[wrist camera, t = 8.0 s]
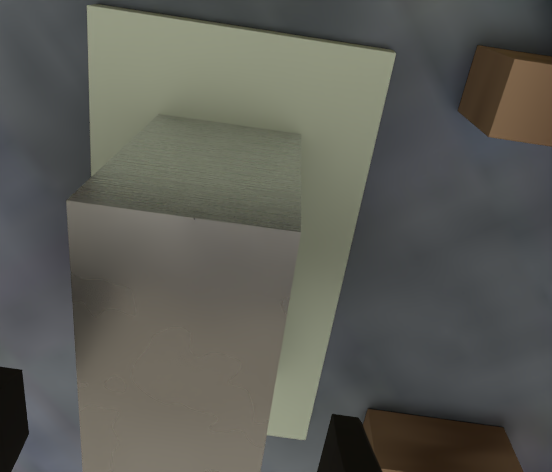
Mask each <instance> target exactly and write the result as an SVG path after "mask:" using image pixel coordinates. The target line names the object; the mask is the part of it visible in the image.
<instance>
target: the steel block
mask: <svg viewBox="0 0 552 472" xmlns="http://www.w3.org/2000/svg"><path fill="white" fill-rule="evenodd" d="M66 204H67V220H68V237H69V253H70V270H71V286H72V302H73V319H74V335H75V352H76V368H77V385H78V401H79V418H80V434H81V450H82V467H83V472H260V470H261V465H262V459H263V453H264V447H265V441H266V435H267V429H268V424H269V418H270V412H271V406H272V400H273V394H274V388H275V383H276V377H277V371H278V365H279V359H280V353H281V347H282V342H283V336H284V330H285V324H286V318H287V312H288V306H289V300H290V295H291V289H292V283H293V277H294V271H295V265H296V259H297V254H298V248H299V242H300V236H301V134H298V133H291V132H283V131H276V130H269V129H262V128H255V127H248V126H241V125H234V124H227V123H219V122H212V121H205V120H198V119H191V118H184V117H177V116H170V115H163V114H158V115H157V116H156V117H155V118H154V119H153V120H152V121H151V122H149V123H148V124H147V125H146V126H145V127H144V128H143V129H142V130H141V131H140V132H139V133H138V134H137V135H136V136H135V137H133V138H132V139H131V140H130V141H129V142H128V143H127V144H126V145H125V146H124V147H123V148H122V149H121V150H120V151H119V152H117V153H116V154H115V155H114V156H113V157H112V158H111V159H110V160H109V161H108V162H107V163H106V164H105V165H104V166H103V167H101V168H100V169H99V170H98V171H97V172H96V173H95V174H94V175H93V176H92V177H91V178H90V179H89V180H88V181H87V182H85V183H84V184H83V185H82V186H81V187H80V188H79V189H78V190H77V191H76V192H75V193H74V194H73V195H72V196H71V197H70V198H68V199H67V200H66Z"/></svg>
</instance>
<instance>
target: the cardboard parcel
mask: <svg viewBox="0 0 552 472" xmlns="http://www.w3.org/2000/svg"><path fill="white" fill-rule="evenodd" d="M458 112H459V113H461V114H462V115H463V116H464V117H465V118H467V119H468V120H469V121H470V122H471V123H472V124H474V125H475V126H476V127H477V128H478V129H480V130H481V131H482V132H483V133H484V134H486V135H487V136H488V137H492V138H499V139H505V140H512V141H518V142H525V143H532V144H538V145H545V146H551V147H552V57H550V56H544V55H537V54H531V53H525V52H518V51H512V50H505V49H499V48H493V47H486V46H480V45H477V49H476V52H475V55H474V59H473V62H472V65H471V69H470V72H469V75H468V78H467V82H466V85H465V88H464V92H463V95H462V98H461V102H460V105H459V108H458ZM363 427H364V430H365V432H366V435H367V437H368V440H369V442H370V444H371V447H372V449H373V451H374V454H375V456H376V458H377V460H378V463H379V465H380V467H381V469H382V471H383V472H523V470H522V468H521V465H520V463H519V461H518V459H517V456H516V454H515V452H514V450H513V448H512V445H511V443H510V441H509V439H508V437H507V434H506V432H505V430H504V428H502V427H495V426H488V425H481V424H474V423H466V422H459V421H452V420H445V419H438V418H430V417H423V416H416V415H409V414H401V413H394V412H387V411H380V410H373V409H368V410H367V413H366V417H365V420H364V423H363Z"/></svg>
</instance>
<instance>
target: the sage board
mask: <svg viewBox="0 0 552 472" xmlns="http://www.w3.org/2000/svg"><path fill="white" fill-rule="evenodd" d="M87 27H88V67H89V107H90V146H91V177H92V176H93V175H94V174H95V173H96V172H97V171H98V170H99V169H100V168H101V167H103V166H104V165H105V164H106V163H107V162H108V161H109V160H110V159H111V158H112V157H113V156H114V155H115V154H116V153H117V152H119V151H120V150H121V149H122V148H123V147H124V146H125V145H126V144H127V143H128V142H129V141H130V140H131V139H132V138H133V137H135V136H136V135H137V134H138V133H139V132H140V131H141V130H142V129H143V128H144V127H145V126H146V125H147V124H148V123H149V122H151V121H152V120H153V119H154V118H155V117H156V116H157V115H158V114H163V115H170V116H177V117H184V118H191V119H198V120H205V121H212V122H219V123H227V124H234V125H241V126H248V127H255V128H262V129H269V130H276V131H283V132H291V133H298V134H301V236H300V242H299V248H298V254H297V259H296V265H295V271H294V277H293V283H292V289H291V295H290V300H289V306H288V312H287V318H286V324H285V330H284V336H283V342H282V347H281V353H280V359H279V365H278V371H277V377H276V383H275V388H274V394H273V400H272V406H271V412H270V418H269V424H268V429H267V435H271V436H278V437H285V438H293V439H300V440H305V439H306V435H307V431H308V427H309V422H310V418H311V414H312V410H313V405H314V401H315V397H316V392H317V388H318V384H319V380H320V375H321V371H322V367H323V363H324V358H325V354H326V350H327V346H328V341H329V337H330V333H331V329H332V324H333V320H334V316H335V312H336V307H337V303H338V299H339V295H340V290H341V286H342V282H343V278H344V273H345V269H346V265H347V261H348V256H349V252H350V248H351V243H352V239H353V235H354V231H355V226H356V222H357V218H358V214H359V209H360V205H361V201H362V197H363V192H364V188H365V184H366V180H367V175H368V171H369V167H370V163H371V158H372V154H373V150H374V146H375V141H376V137H377V133H378V129H379V124H380V120H381V116H382V111H383V107H384V103H385V99H386V94H387V90H388V86H389V82H390V77H391V73H392V69H393V65H394V60H395V56H396V53H395V52H394V51H393V50H390V49H383V48H377V47H370V46H364V45H357V44H351V43H344V42H338V41H332V40H325V39H319V38H312V37H306V36H299V35H293V34H286V33H280V32H274V31H267V30H261V29H254V28H248V27H241V26H235V25H228V24H222V23H216V22H209V21H203V20H196V19H190V18H183V17H177V16H170V15H164V14H158V13H151V12H145V11H138V10H132V9H125V8H119V7H112V6H106V5H100V4H93V5H87Z"/></svg>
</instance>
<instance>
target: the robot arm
mask: <svg viewBox="0 0 552 472" xmlns="http://www.w3.org/2000/svg"><path fill="white" fill-rule="evenodd" d="M28 435H29V430H28V421H27V411H26V402H25V393H24V384H23V375H22V370H19V369H12V368H5V367H0V472H11V471H12V469H13V467H14V465H15V463H16V461H17V459H18V457H19V454H20V452H21V450H22V448H23V446H24V443H25V441H26V439H27V437H28ZM317 472H383V471H382V469H381V467H380V465H379V463H378V460H377V458H376V456H375V454H374V451H373V449H372V447H371V444H370V442H369V440H368V437H367V435H366V432H365V430H364V427H363V424H362V422H361V421H360V419H359V418H357V417H350V416H343V415H336V414H332V417H331V420H330V424H329V428H328V432H327V436H326V440H325V444H324V447H323V451H322V455H321V459H320V463H319V467H318V471H317Z"/></svg>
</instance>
